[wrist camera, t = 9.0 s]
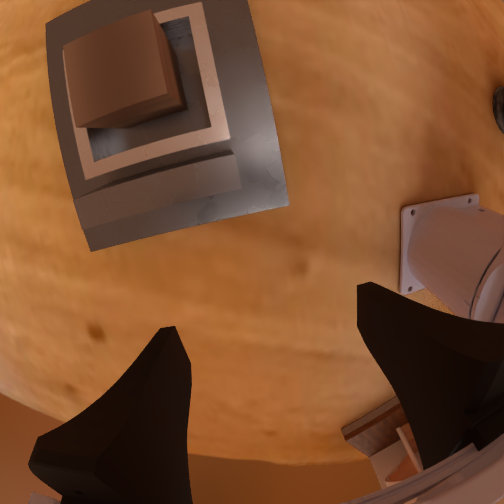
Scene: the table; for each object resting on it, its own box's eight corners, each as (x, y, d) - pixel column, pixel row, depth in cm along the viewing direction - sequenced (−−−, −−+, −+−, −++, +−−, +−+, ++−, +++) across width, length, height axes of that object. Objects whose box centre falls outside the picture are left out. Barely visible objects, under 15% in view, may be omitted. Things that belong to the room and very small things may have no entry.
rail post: (175, 52, 14) (150, 9, 8) (188, 109, 16) (167, 93, 9) (115, 72, 14) (63, 46, 8) (126, 128, 16) (75, 127, 9)
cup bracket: (235, -31, 13) (241, -79, 7) (285, 201, 20) (311, 229, 14) (53, 27, 13) (8, 5, 7) (96, 245, 20) (59, 285, 14)
